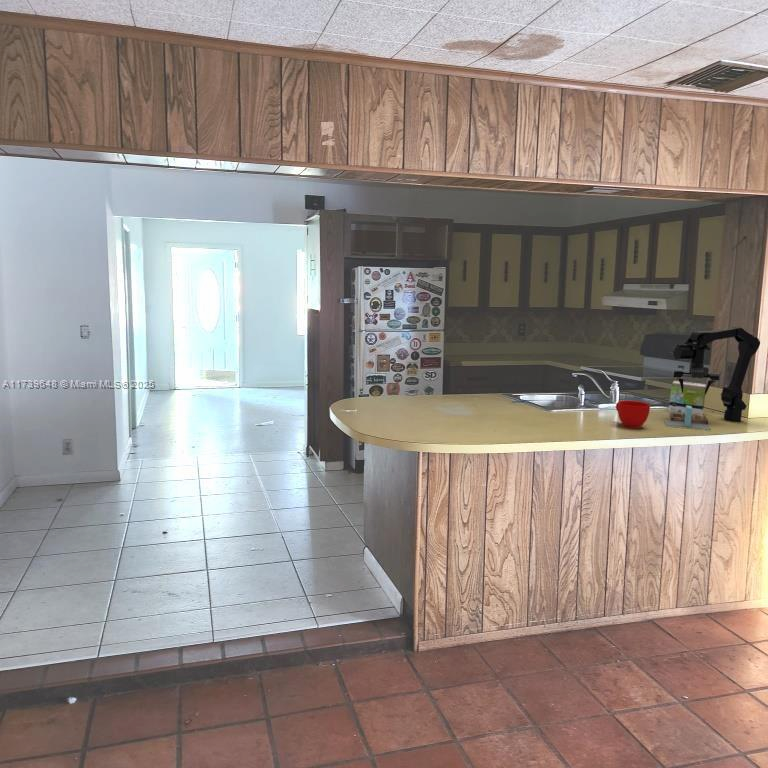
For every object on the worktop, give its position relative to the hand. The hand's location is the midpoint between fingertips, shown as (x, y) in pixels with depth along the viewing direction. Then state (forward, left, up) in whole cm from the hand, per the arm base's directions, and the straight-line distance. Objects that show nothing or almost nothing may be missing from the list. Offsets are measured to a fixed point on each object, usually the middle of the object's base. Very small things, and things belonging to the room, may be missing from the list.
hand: (693, 393), depth 302 cm
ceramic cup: (+27, +24, -13) cm, 38 cm away
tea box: (+1, -20, -13) cm, 24 cm away
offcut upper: (-3, +1, -11) cm, 11 cm away
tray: (+2, +1, -13) cm, 13 cm away
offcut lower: (-3, 0, -12) cm, 12 cm away
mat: (+3, +14, -13) cm, 19 cm away
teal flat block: (+3, +14, -12) cm, 18 cm away
